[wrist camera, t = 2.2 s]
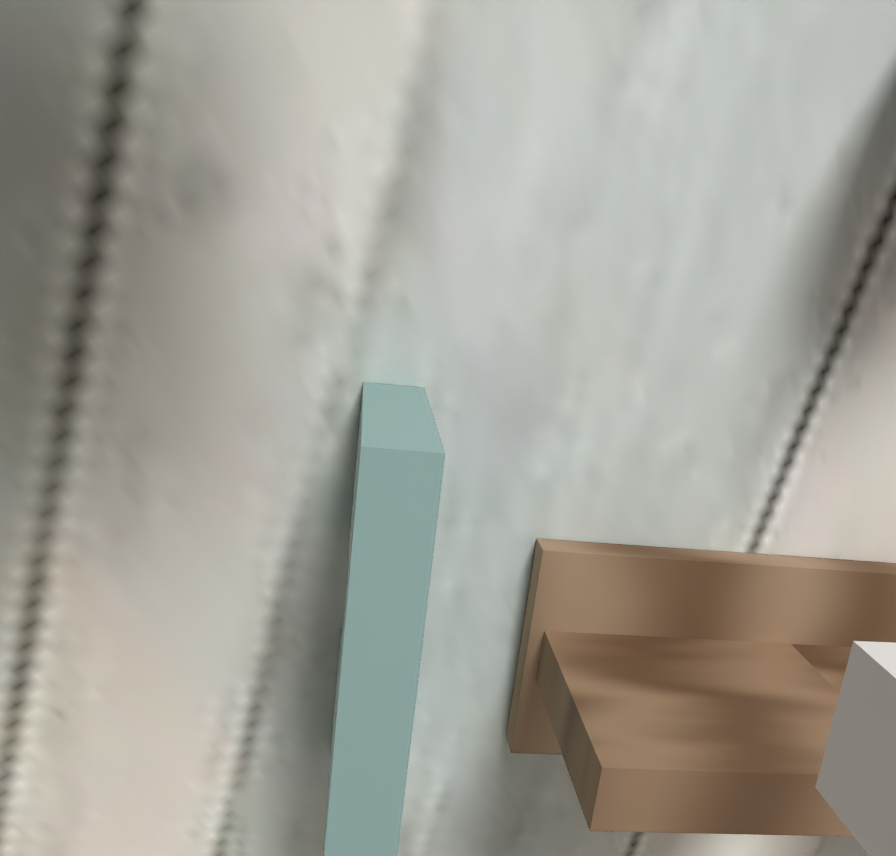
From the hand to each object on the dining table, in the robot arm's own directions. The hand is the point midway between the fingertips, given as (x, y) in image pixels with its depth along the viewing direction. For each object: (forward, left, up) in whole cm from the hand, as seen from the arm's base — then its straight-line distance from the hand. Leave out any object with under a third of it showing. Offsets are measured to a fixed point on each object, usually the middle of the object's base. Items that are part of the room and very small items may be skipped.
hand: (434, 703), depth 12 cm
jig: (+17, -7, -15) cm, 23 cm away
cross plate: (0, -5, -15) cm, 16 cm away
